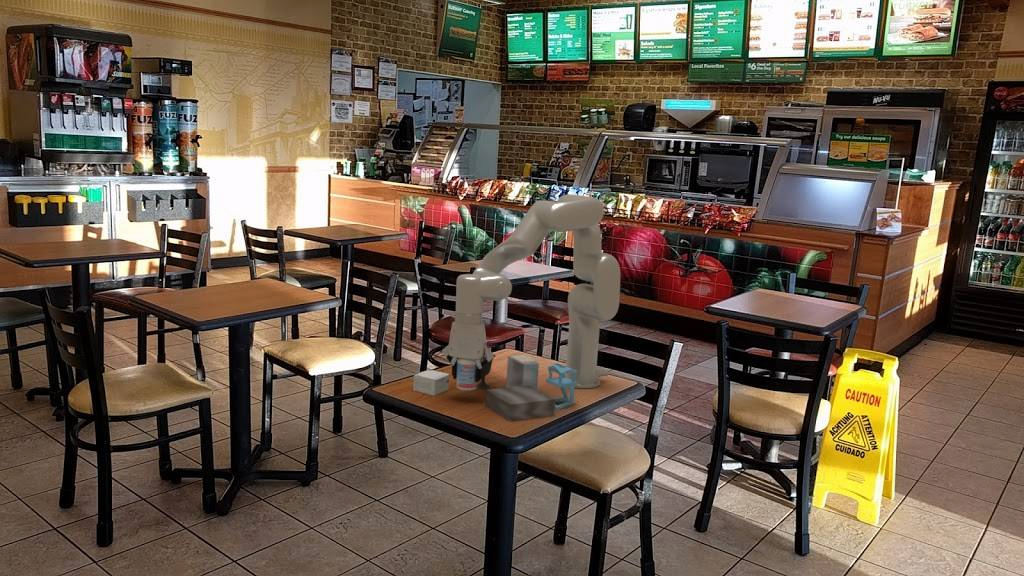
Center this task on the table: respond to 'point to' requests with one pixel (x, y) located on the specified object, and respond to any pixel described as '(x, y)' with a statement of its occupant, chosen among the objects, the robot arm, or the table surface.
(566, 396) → the chair
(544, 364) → the table surface
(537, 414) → the riser block
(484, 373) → the sundae
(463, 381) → the pill bottle
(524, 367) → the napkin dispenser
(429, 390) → the small box
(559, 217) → the robot arm
